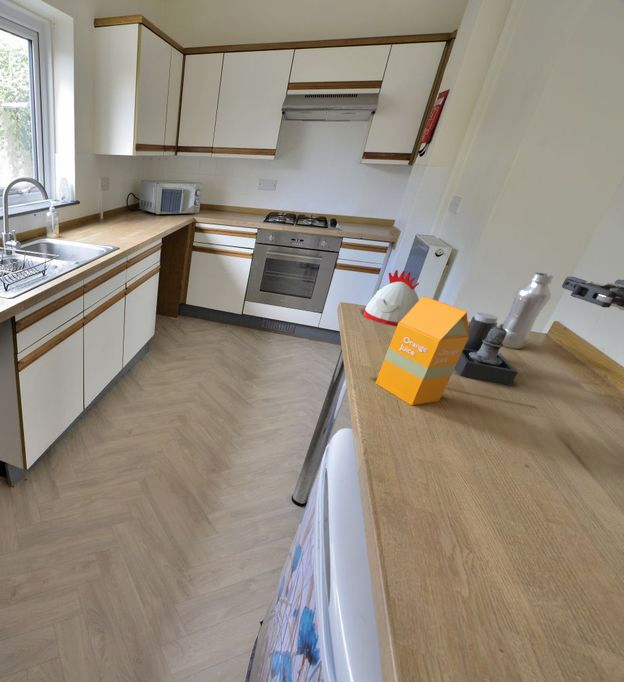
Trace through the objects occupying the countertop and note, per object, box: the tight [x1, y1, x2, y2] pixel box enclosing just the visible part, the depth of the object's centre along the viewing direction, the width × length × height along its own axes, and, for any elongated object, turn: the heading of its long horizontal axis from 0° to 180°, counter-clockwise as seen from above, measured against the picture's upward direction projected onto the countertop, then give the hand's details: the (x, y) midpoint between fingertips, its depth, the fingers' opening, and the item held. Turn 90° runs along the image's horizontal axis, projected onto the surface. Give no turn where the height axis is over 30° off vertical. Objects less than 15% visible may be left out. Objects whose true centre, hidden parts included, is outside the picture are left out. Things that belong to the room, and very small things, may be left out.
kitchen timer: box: [363, 269, 420, 327], centre depth 122 cm, size 14×14×15 cm
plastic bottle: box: [502, 272, 554, 350], centre depth 106 cm, size 6×7×20 cm
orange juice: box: [375, 295, 469, 406], centre depth 82 cm, size 8×9×20 cm
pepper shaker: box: [464, 312, 499, 351], centre depth 99 cm, size 5×5×11 cm
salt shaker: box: [469, 323, 507, 367], centre depth 92 cm, size 6×6×12 cm
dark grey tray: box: [454, 348, 519, 387], centre depth 98 cm, size 9×17×4 cm, turn 156°
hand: (590, 283), depth 75 cm, fingers open, 8 cm apart
